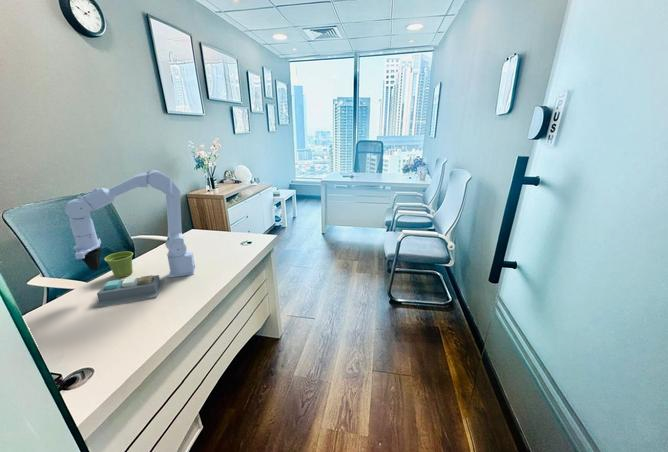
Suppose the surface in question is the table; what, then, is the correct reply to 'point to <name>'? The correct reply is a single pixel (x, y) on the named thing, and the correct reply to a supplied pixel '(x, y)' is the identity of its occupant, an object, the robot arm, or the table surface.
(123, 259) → the plant pot
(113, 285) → the teal key
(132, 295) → the tray
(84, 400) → the table surface
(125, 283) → the ivory key
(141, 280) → the oak key
